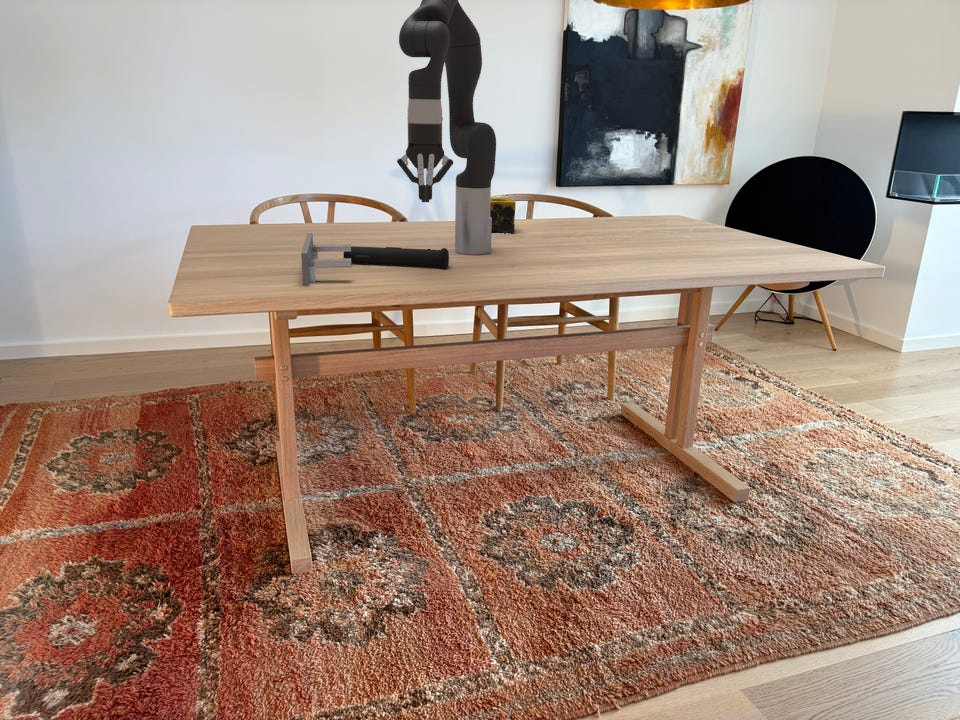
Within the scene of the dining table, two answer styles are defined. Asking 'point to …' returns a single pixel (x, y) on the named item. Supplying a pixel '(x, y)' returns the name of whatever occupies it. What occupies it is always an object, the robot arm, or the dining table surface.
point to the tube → (399, 256)
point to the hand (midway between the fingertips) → (425, 201)
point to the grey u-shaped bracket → (327, 262)
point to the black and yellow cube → (502, 215)
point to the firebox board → (306, 258)
